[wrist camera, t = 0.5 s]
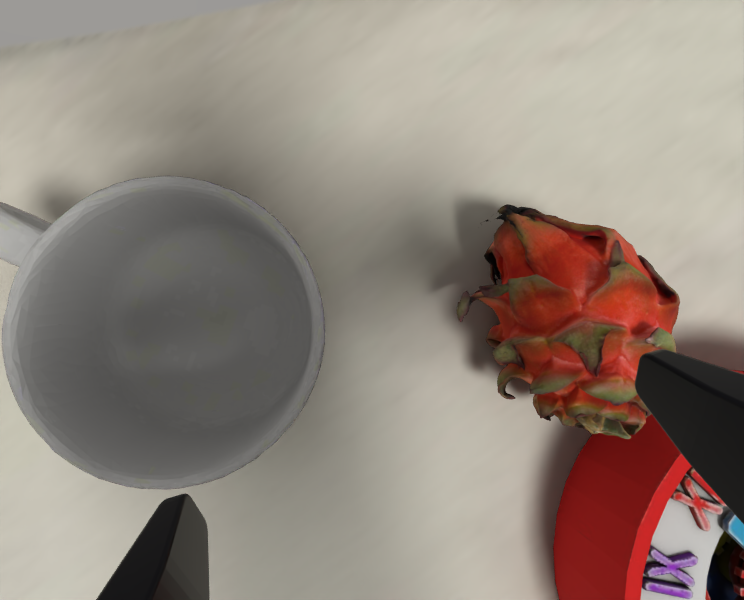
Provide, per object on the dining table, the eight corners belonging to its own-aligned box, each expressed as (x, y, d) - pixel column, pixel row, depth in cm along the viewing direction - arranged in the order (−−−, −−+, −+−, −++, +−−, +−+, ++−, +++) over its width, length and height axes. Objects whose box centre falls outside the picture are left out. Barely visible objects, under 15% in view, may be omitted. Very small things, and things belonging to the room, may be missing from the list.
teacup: (368, 319, 23) (387, 314, 15) (230, 480, 22) (171, 566, 14) (170, 146, 23) (82, 50, 15) (18, 300, 22) (-165, 285, 14)
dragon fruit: (557, 430, 25) (463, 252, 27) (724, 378, 21) (599, 172, 23) (527, 500, 18) (403, 249, 20) (774, 441, 14) (584, 132, 16)
